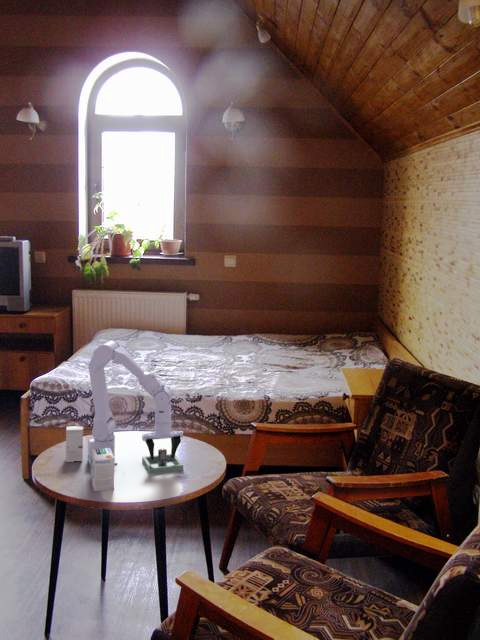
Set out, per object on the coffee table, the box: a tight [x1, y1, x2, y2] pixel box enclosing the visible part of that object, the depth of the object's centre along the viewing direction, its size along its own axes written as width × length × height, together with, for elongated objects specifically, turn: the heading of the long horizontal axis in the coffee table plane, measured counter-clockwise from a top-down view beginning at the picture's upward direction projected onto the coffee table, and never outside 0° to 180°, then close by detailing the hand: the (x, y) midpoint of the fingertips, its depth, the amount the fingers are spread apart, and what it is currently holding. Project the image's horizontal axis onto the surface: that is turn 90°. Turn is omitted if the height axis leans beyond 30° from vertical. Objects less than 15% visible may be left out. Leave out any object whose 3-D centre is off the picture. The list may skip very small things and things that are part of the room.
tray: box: [141, 453, 184, 475], centre depth 236 cm, size 12×12×2 cm
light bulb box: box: [90, 448, 115, 492], centre depth 218 cm, size 11×7×11 cm, turn 19°
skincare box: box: [65, 425, 84, 463], centre depth 239 cm, size 6×4×12 cm
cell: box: [157, 448, 168, 467], centre depth 235 cm, size 3×3×6 cm
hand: (162, 457), depth 236 cm, fingers open, 7 cm apart
